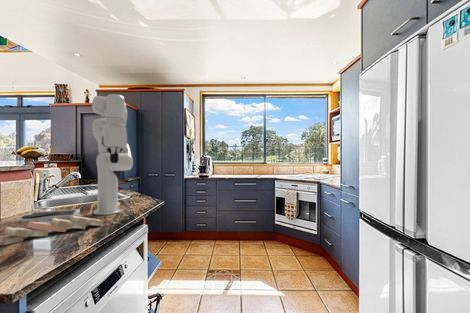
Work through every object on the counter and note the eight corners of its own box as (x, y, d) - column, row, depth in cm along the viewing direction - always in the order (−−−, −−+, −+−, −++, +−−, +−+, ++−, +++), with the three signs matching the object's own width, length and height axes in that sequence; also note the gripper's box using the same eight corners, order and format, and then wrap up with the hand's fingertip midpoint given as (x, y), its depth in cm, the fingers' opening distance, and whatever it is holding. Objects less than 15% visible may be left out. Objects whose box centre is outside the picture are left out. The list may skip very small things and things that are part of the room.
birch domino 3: (82, 222, 104) (52, 217, 96) (86, 224, 100) (56, 220, 92) (80, 226, 103) (50, 223, 95) (84, 229, 100) (53, 225, 92)
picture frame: (20, 223, 109) (76, 219, 118) (20, 217, 109) (76, 213, 118) (30, 216, 123) (79, 212, 132) (30, 210, 123) (79, 207, 132)
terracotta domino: (60, 224, 99) (29, 221, 90) (67, 226, 96) (35, 223, 87) (59, 230, 98) (26, 226, 89) (65, 232, 96) (32, 229, 87)
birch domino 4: (99, 219, 108) (71, 215, 100) (103, 221, 105) (75, 217, 97) (97, 224, 108) (69, 220, 100) (102, 226, 105) (73, 222, 97)
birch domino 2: (42, 228, 93) (6, 227, 84) (49, 230, 91) (12, 229, 81) (40, 233, 93) (3, 233, 83) (47, 236, 90) (10, 235, 81)
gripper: (127, 124, 120) (127, 162, 120) (94, 121, 109) (93, 162, 109) (134, 123, 115) (134, 163, 115) (100, 119, 104) (99, 163, 104)
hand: (114, 162), depth 112 cm, fingers closed
